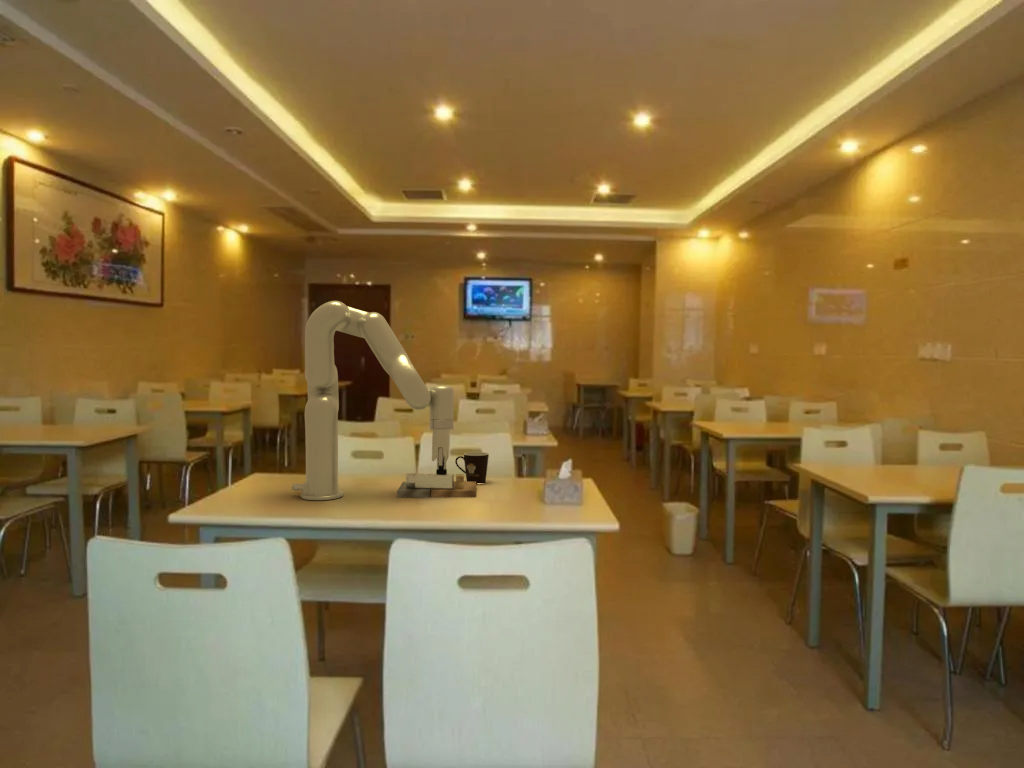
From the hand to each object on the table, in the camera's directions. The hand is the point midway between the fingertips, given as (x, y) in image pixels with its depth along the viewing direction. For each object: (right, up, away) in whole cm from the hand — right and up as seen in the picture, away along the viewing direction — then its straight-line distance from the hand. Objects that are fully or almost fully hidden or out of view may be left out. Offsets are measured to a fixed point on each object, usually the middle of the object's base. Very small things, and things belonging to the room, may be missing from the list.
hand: (441, 482), depth 218 cm
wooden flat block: (-1, -3, +1) cm, 4 cm away
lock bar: (-3, -1, -4) cm, 5 cm away
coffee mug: (+9, -3, +19) cm, 21 cm away
